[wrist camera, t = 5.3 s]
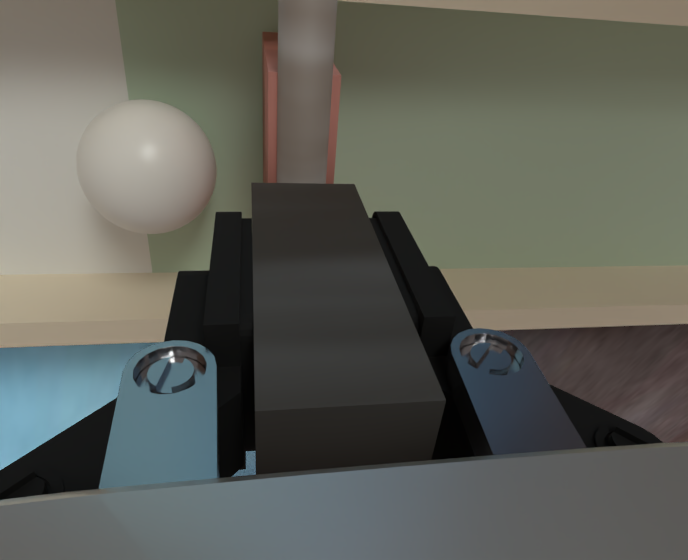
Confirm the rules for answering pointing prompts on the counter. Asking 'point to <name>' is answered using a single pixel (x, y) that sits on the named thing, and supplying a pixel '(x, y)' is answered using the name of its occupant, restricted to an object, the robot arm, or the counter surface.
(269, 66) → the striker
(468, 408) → the robot arm
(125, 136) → the ball
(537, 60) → the cream long tray
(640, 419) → the counter surface
